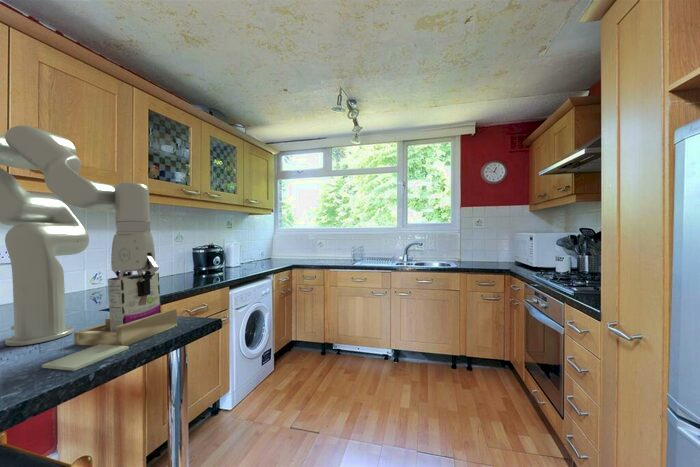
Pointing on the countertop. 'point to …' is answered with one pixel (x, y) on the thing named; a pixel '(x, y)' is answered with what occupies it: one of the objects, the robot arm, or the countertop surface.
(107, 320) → the offcut upper
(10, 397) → the countertop surface
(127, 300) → the candy bar box
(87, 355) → the tile
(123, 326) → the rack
